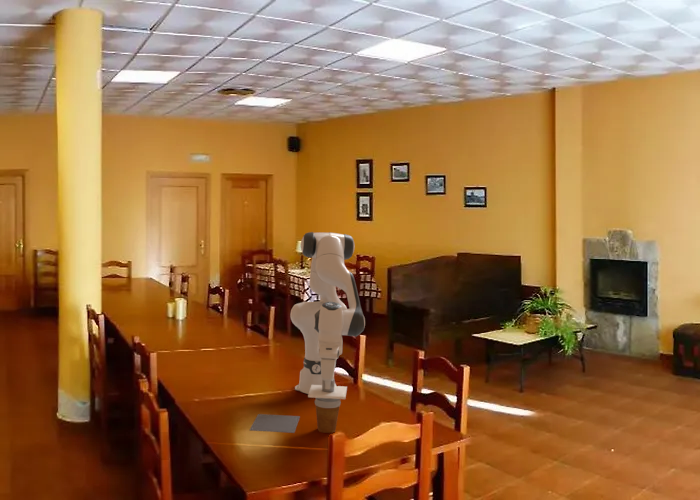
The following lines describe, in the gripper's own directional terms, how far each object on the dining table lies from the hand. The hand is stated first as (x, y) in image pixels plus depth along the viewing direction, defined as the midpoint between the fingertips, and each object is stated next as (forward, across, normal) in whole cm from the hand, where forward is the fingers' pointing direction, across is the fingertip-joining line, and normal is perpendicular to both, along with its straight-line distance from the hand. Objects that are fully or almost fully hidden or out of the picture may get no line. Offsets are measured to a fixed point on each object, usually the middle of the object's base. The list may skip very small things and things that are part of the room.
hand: (328, 386), depth 239 cm
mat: (+16, -4, -19) cm, 25 cm away
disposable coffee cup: (+17, 0, 0) cm, 17 cm away
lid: (+2, 0, 0) cm, 2 cm away
